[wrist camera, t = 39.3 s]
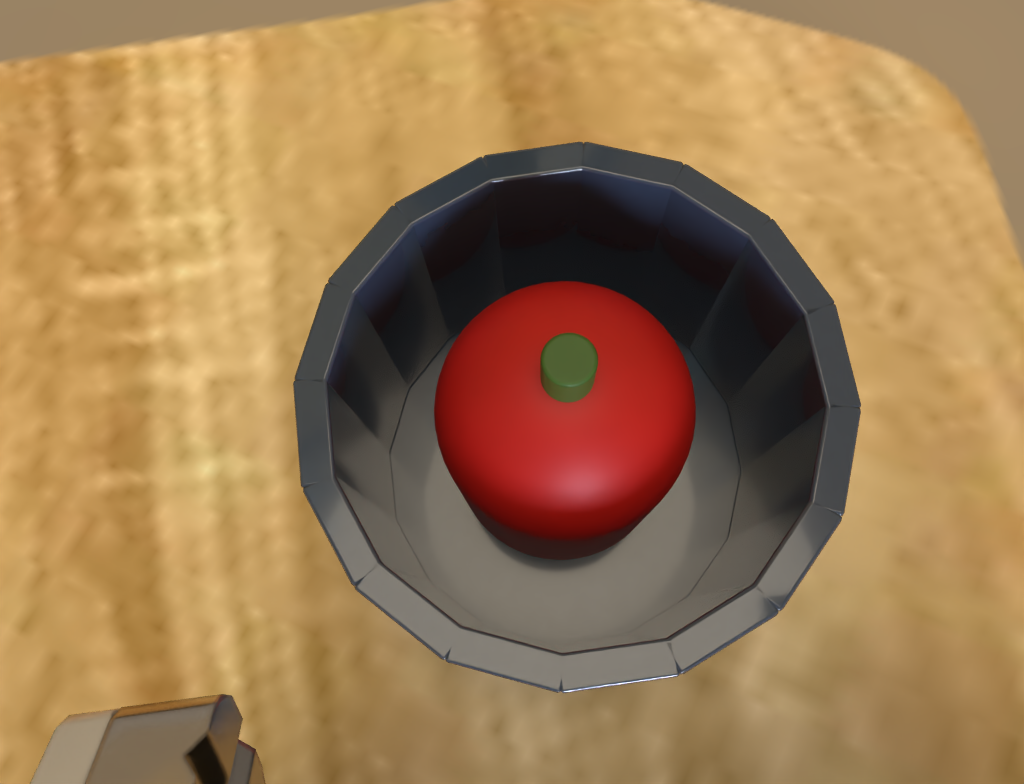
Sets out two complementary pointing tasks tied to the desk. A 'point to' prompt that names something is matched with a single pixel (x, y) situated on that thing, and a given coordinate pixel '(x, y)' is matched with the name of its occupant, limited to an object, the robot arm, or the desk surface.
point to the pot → (706, 473)
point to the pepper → (564, 417)
